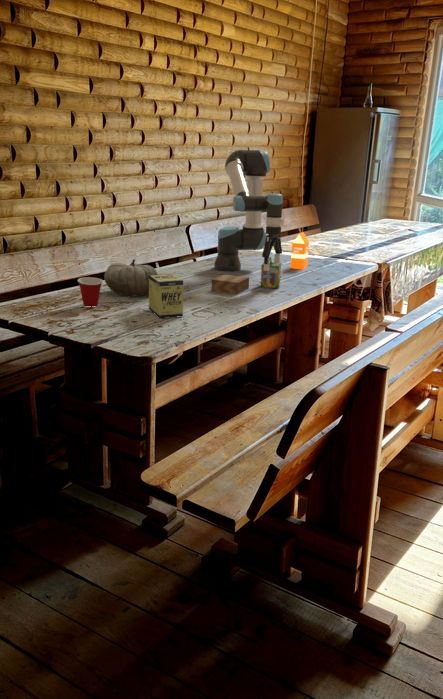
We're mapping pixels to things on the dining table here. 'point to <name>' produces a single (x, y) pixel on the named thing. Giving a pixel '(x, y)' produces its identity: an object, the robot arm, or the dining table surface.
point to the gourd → (129, 278)
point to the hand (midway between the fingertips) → (271, 268)
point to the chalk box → (271, 275)
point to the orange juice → (299, 252)
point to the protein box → (166, 295)
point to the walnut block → (230, 284)
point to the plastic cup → (90, 290)
